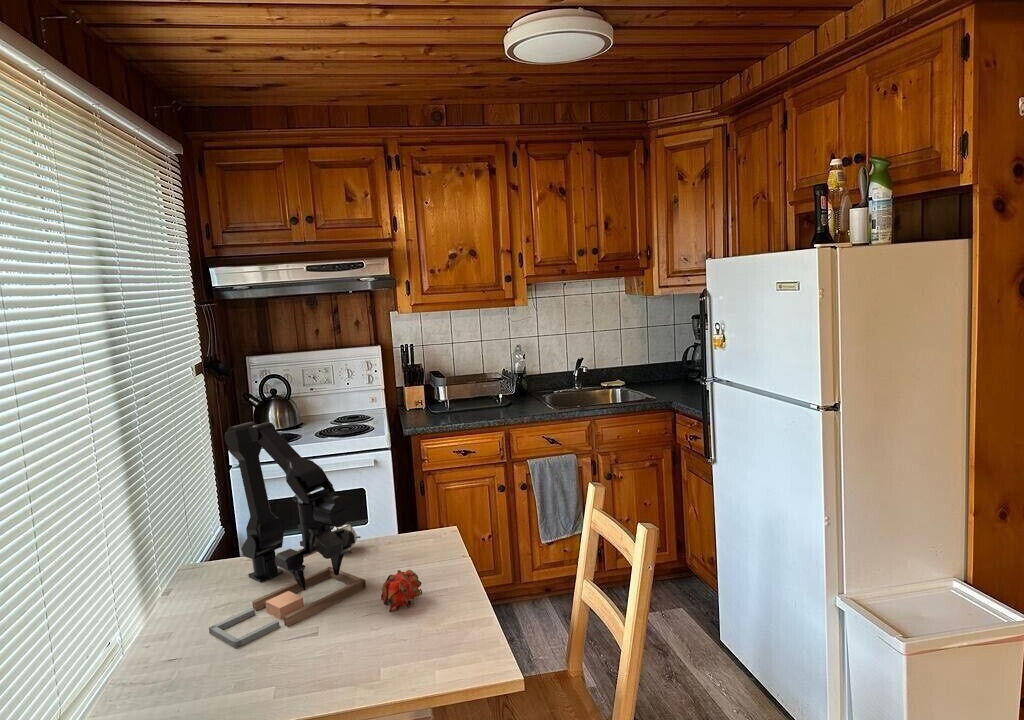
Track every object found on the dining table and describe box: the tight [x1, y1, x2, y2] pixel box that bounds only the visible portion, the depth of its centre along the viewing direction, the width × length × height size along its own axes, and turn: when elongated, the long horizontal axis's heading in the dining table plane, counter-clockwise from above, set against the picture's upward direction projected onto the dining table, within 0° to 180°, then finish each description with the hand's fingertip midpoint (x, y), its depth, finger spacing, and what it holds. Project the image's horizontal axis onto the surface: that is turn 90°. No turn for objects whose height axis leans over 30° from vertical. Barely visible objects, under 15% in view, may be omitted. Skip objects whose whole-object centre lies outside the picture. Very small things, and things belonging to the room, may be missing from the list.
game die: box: [331, 521, 362, 555], centre depth 194 cm, size 9×8×10 cm
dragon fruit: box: [380, 569, 423, 613], centre depth 160 cm, size 8×8×12 cm
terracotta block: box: [265, 591, 305, 621], centre depth 163 cm, size 6×6×3 cm
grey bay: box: [208, 607, 281, 649], centre depth 155 cm, size 11×10×1 cm
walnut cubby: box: [251, 566, 367, 627], centre depth 168 cm, size 14×21×2 cm
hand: (320, 582), depth 170 cm, fingers open, 9 cm apart
